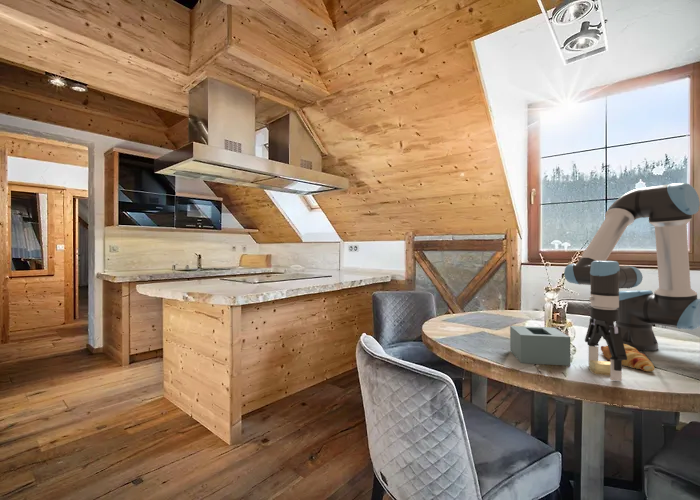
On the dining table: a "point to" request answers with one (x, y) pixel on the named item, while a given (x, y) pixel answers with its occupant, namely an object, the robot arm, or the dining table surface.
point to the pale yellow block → (600, 367)
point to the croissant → (632, 358)
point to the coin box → (540, 345)
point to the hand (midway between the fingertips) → (603, 372)
